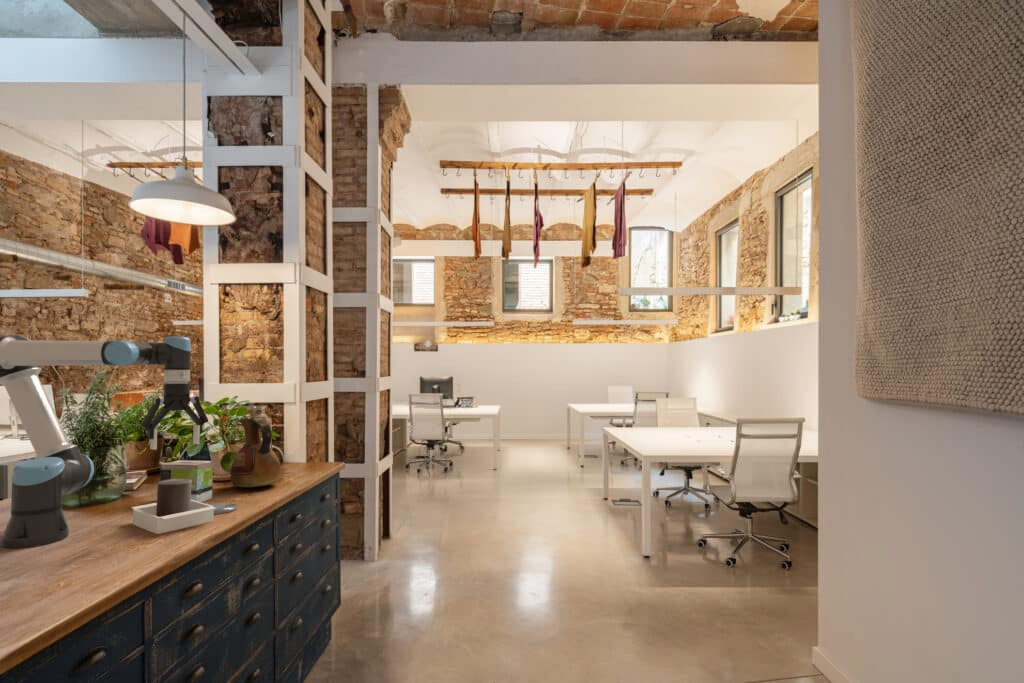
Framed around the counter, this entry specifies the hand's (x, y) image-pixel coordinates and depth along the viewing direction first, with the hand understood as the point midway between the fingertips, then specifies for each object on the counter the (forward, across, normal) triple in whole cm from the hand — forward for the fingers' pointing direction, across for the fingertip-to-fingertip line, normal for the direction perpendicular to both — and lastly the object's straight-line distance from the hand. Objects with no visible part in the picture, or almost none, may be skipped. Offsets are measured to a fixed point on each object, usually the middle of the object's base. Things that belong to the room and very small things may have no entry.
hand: (175, 446), depth 185 cm
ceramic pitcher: (+25, +46, +26) cm, 59 cm away
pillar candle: (+25, 0, -1) cm, 25 cm away
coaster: (+25, +17, +3) cm, 30 cm away
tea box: (+25, +17, +26) cm, 40 cm away
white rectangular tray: (+25, 0, -1) cm, 25 cm away
